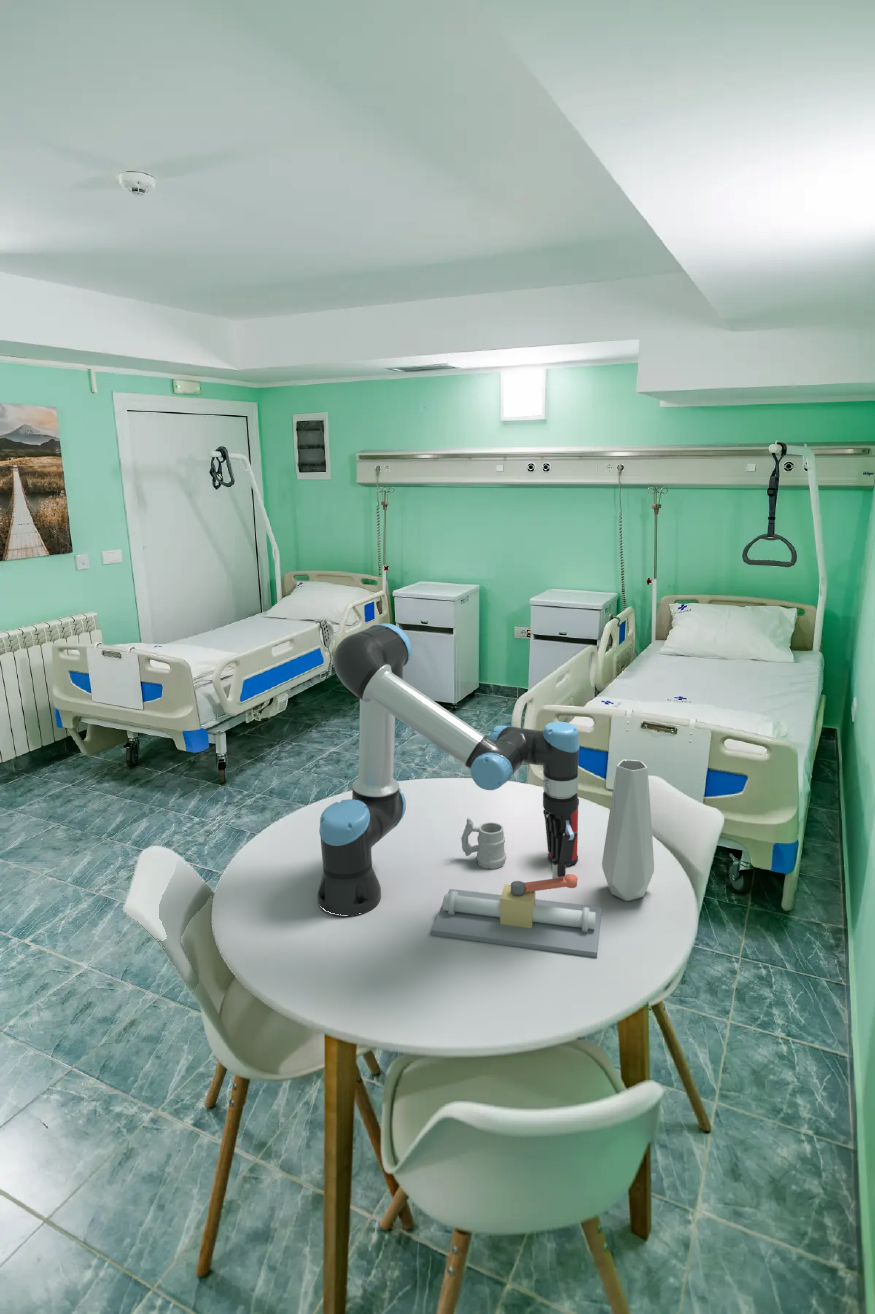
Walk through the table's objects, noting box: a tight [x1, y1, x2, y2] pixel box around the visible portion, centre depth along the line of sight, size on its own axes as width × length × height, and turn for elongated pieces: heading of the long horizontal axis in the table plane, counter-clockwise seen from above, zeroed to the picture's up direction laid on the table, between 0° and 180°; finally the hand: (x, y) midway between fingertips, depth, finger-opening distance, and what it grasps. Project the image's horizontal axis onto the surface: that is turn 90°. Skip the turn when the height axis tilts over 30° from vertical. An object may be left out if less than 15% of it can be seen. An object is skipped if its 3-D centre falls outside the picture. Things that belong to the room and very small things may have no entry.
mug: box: [460, 816, 507, 870], centre depth 196 cm, size 8×12×12 cm, turn 75°
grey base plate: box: [430, 884, 603, 958], centre depth 169 cm, size 36×17×8 cm, turn 75°
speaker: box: [547, 798, 580, 867], centre depth 194 cm, size 8×8×18 cm
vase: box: [601, 759, 655, 902], centre depth 177 cm, size 12×12×33 cm
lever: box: [510, 873, 578, 896], centre depth 169 cm, size 15×3×2 cm, turn 101°
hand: (558, 886), depth 172 cm, fingers closed
